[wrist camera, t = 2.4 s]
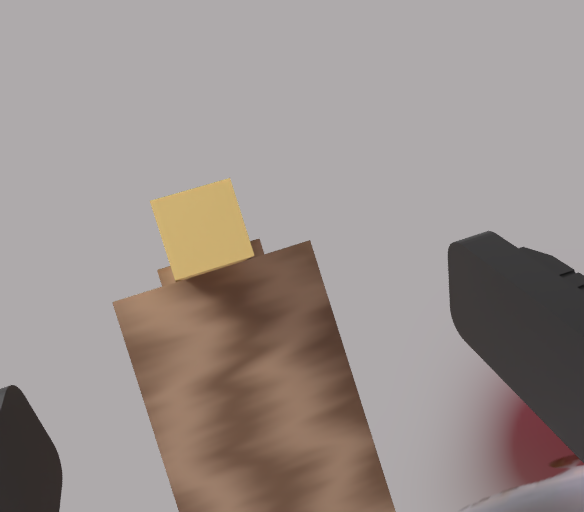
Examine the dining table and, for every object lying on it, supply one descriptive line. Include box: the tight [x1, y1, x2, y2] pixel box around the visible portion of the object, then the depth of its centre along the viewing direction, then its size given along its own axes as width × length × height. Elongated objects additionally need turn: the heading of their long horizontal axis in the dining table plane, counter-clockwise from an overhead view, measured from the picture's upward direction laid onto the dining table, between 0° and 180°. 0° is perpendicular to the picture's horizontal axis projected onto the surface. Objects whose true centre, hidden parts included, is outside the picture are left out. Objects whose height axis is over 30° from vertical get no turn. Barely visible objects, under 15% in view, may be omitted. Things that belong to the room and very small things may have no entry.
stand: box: [113, 239, 396, 512], centre depth 37 cm, size 12×12×33 cm
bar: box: [150, 178, 254, 280], centre depth 33 cm, size 4×20×4 cm, turn 9°
